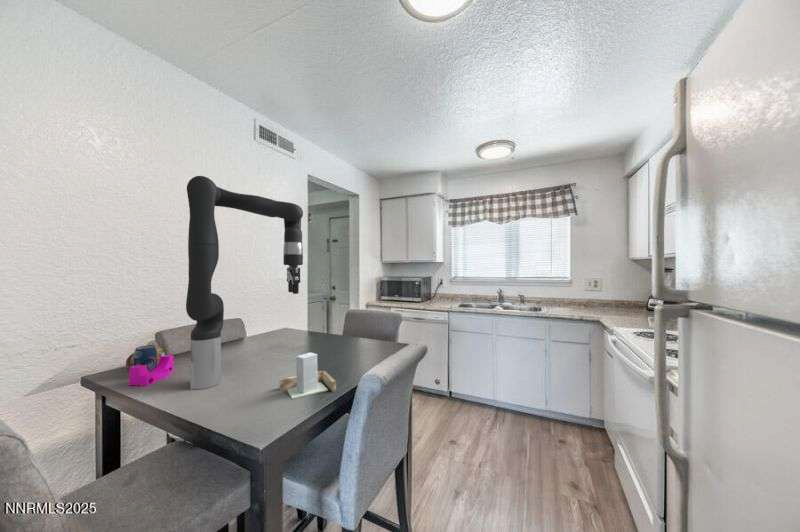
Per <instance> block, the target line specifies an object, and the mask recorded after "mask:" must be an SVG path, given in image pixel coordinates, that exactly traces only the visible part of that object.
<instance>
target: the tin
mask: <svg viewBox="0 0 800 532" xmlns="http://www.w3.org/2000/svg"><path fill="white" fill-rule="evenodd" d="M155 348H156V349H157V363H159V361H160V357H161V356H164V355H167V352H166V349H165V348H164V347H162V346H155ZM133 366H134V352H133V353H131V354H130V355H129V356H128V357H127V358H126V360H125V367H126V370H129V368H130V367H133Z"/></svg>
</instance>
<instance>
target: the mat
mask: <svg viewBox="0 0 800 532" xmlns="http://www.w3.org/2000/svg"><path fill="white" fill-rule="evenodd" d="M286 391H287V393H288V395H289V397H290V398H291V400H296V399H298V398H303V397H308V396H312V395H316V394H319V393H323V392H325V393H326V392H327V391H329V388H328V387H326V385H324V384H323V383H322V381H320V382H318V388H315V389H313V390H311V391H308V392H306V393H301V392H299V391H297V387H293V388H288V389H286Z"/></svg>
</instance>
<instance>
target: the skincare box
mask: <svg viewBox="0 0 800 532" xmlns="http://www.w3.org/2000/svg"><path fill="white" fill-rule="evenodd" d="M295 359H296V360H295V362H296V364H295V366H296V367H295V368H296V370H295V371H296V376H297V391H299V392H301V393H306V392H308V391H311V390H313V389H315V388H318V371H319V370H318V354H317V353H314V352H307V353H304V354H299V355H296V356H295Z"/></svg>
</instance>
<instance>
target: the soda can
mask: <svg viewBox="0 0 800 532" xmlns="http://www.w3.org/2000/svg"><path fill="white" fill-rule="evenodd" d="M155 347H156V346H155V344H151V345H150V344H148V345H141V346H137V347H136V348H135V350H134V352H133V353H134V366H136V365H146V367H147V370H148V371H149V372H151V371H153V370H154V369H155V368H156V367H157V365H158V364H157V349H156V348H155Z"/></svg>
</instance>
